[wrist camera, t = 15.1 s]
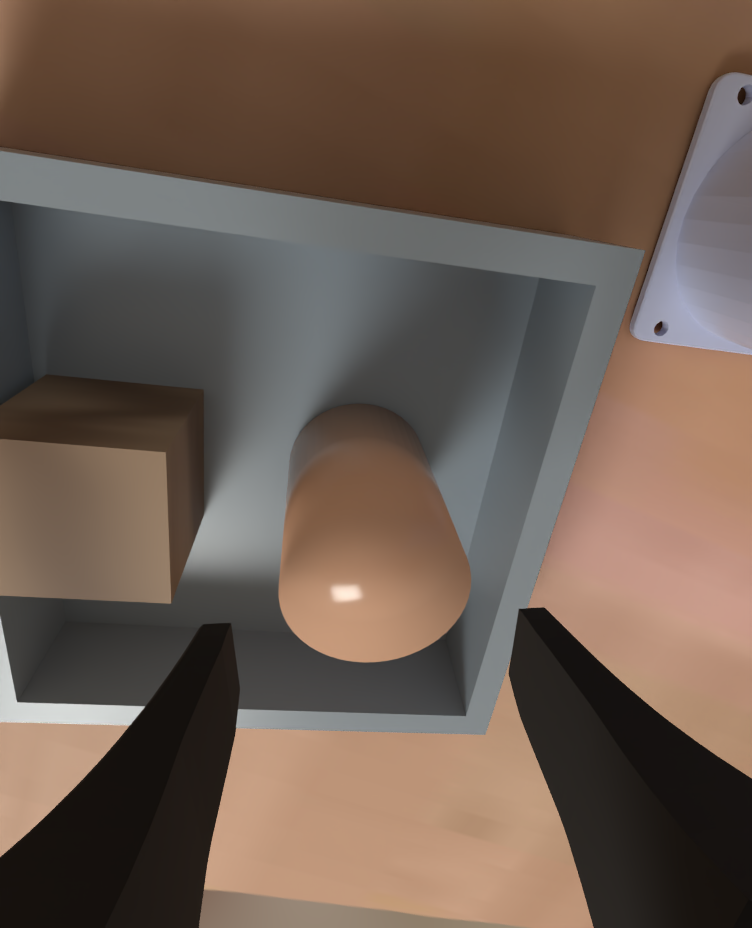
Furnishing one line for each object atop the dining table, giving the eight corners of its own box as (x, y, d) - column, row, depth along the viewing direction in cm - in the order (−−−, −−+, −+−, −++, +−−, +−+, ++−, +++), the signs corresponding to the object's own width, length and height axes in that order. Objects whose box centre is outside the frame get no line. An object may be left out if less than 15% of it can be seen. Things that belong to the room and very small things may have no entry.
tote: (568, 234, 19) (645, 250, 14) (458, 641, 26) (485, 734, 22) (-16, 144, 16) (-146, 128, 12) (52, 621, 24) (-10, 721, 19)
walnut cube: (203, 389, 19) (165, 452, 14) (203, 515, 21) (171, 603, 17) (46, 374, 18) (-45, 435, 14) (63, 505, 20) (-10, 595, 16)
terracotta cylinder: (428, 402, 20) (481, 507, 14) (419, 521, 22) (461, 657, 16) (286, 404, 19) (272, 512, 13) (292, 525, 21) (283, 667, 15)
